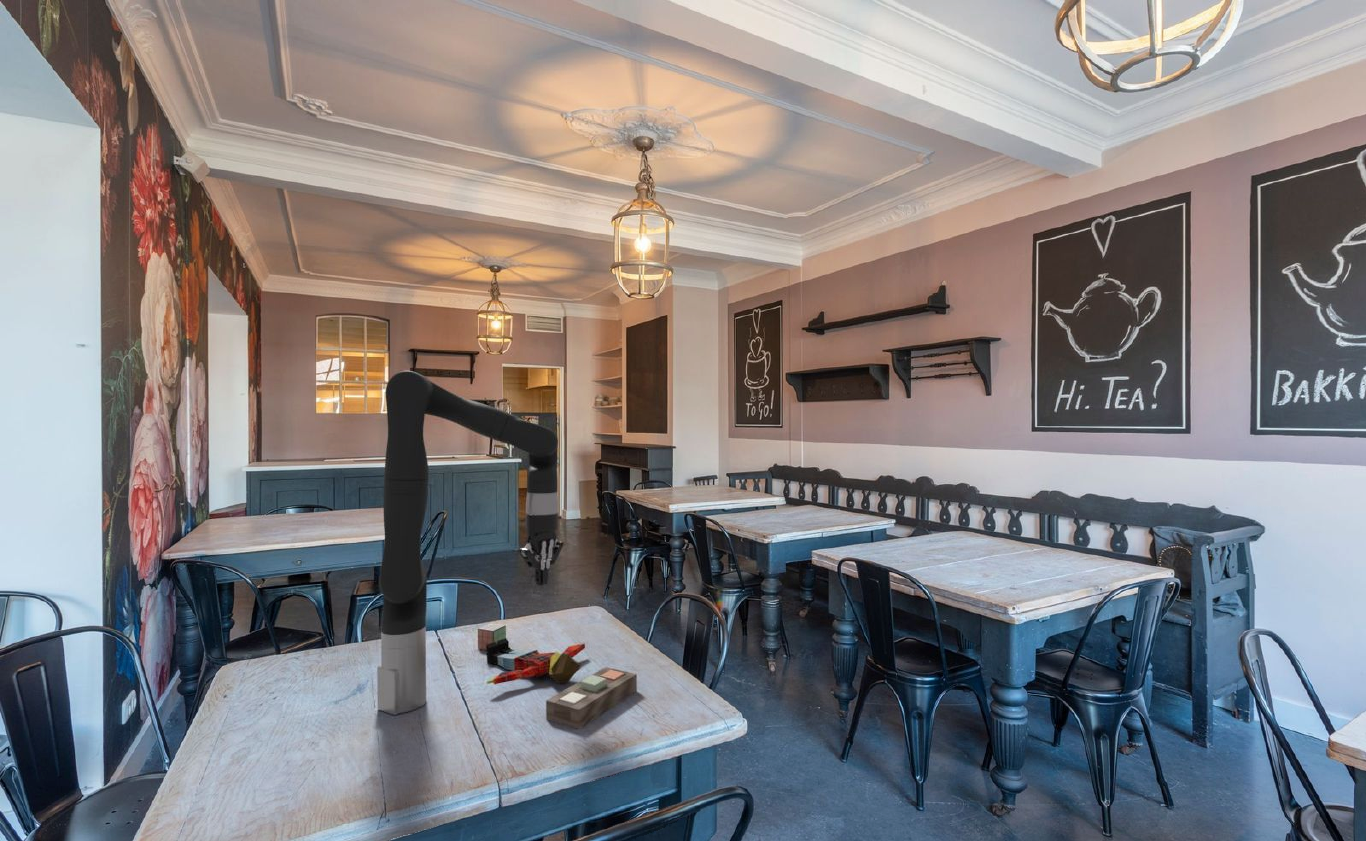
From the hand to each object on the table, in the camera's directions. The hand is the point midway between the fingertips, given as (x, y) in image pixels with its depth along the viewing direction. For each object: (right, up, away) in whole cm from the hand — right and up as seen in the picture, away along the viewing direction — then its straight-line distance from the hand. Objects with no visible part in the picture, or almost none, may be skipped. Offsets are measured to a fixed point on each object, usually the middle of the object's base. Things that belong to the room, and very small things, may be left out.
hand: (541, 584), depth 148 cm
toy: (-5, -26, +12) cm, 29 cm away
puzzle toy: (-21, -26, +30) cm, 45 cm away
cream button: (+10, -24, -13) cm, 29 cm away
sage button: (+13, -23, -7) cm, 27 cm away
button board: (+13, -25, -7) cm, 29 cm away
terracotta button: (+17, -24, -1) cm, 29 cm away
